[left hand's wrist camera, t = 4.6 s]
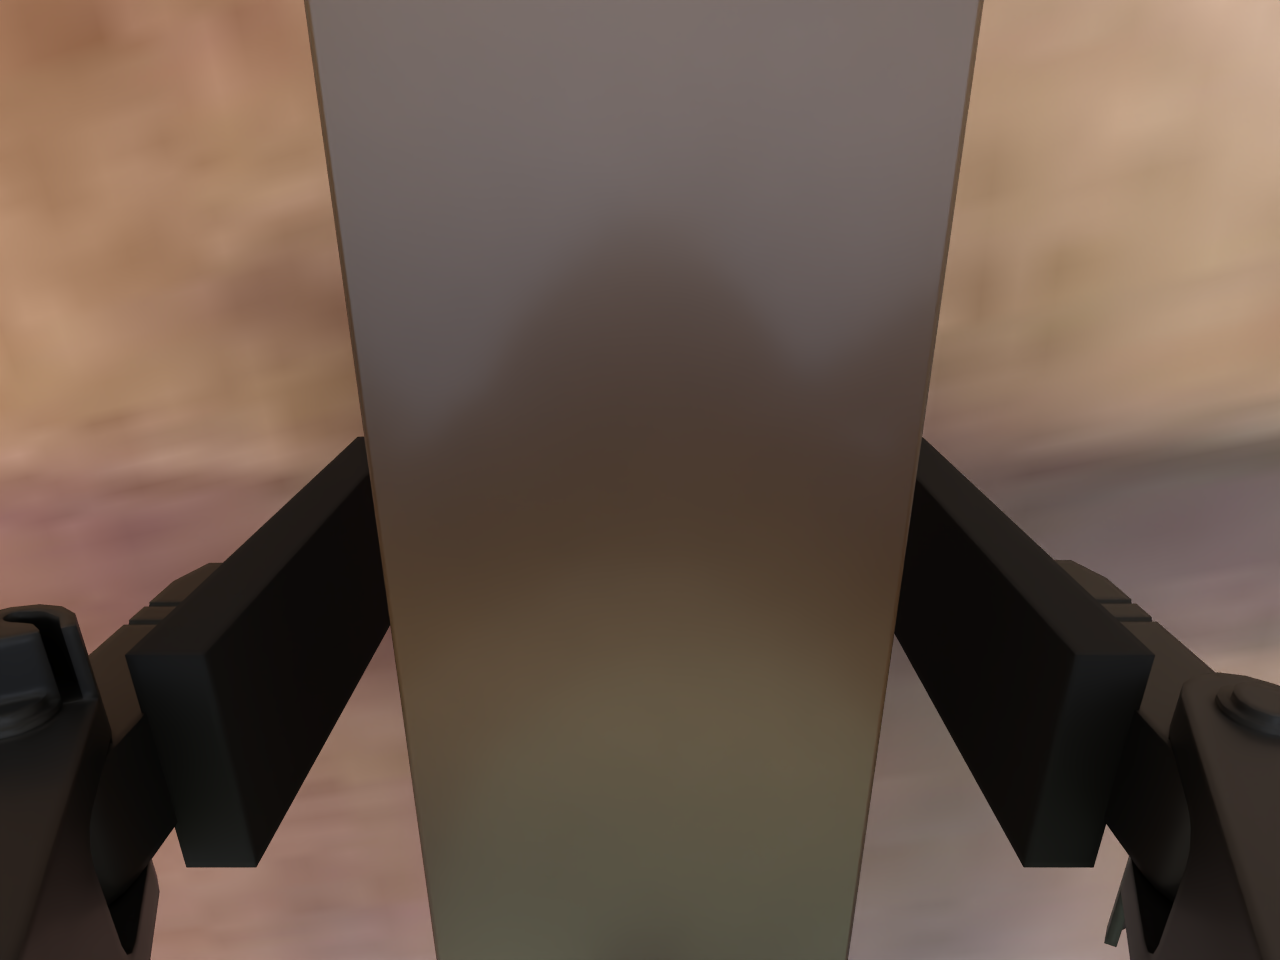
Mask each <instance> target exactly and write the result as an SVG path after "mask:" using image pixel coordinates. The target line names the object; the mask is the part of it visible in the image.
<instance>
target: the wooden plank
mask: <svg viewBox="0 0 1280 960" xmlns="http://www.w3.org/2000/svg"><path fill="white" fill-rule="evenodd" d="M983 2H984V0H304V4H305V12H306V19H307V26H308V33H309V41H310V48H311V55H312V62H313V69H314V77H315V84H316V91H317V98H318V106H319V113H320V120H321V127H322V134H323V142H324V149H325V156H326V163H327V171H328V178H329V185H330V192H331V199H332V207H333V214H334V221H335V228H336V236H337V243H338V250H339V257H340V264H341V272H342V279H343V286H344V293H345V301H346V308H347V315H348V322H349V329H350V337H351V344H352V351H353V358H354V366H355V373H356V380H357V387H358V394H359V402H360V409H361V416H362V423H363V431H364V438H365V445H366V452H367V459H368V467H369V474H370V481H371V488H372V496H373V503H374V510H375V517H376V524H377V532H378V539H379V546H380V553H381V561H382V568H383V575H384V582H385V589H386V597H387V604H388V611H389V618H390V626H391V633H392V640H393V647H394V654H395V662H396V669H397V676H398V683H399V691H400V698H401V705H402V712H403V719H404V727H405V734H406V741H407V748H408V756H409V763H410V770H411V777H412V784H413V792H414V799H415V806H416V813H417V821H418V828H419V835H420V842H421V849H422V857H423V864H424V871H425V878H426V886H427V893H428V900H429V907H430V914H431V922H432V929H433V936H434V943H435V951H436V958H437V960H848V956H849V948H850V941H851V934H852V927H853V920H854V913H855V906H856V899H857V892H858V885H859V878H860V871H861V864H862V857H863V850H864V843H865V835H866V828H867V821H868V814H869V807H870V800H871V793H872V786H873V779H874V772H875V765H876V758H877V751H878V744H879V737H880V730H881V722H882V715H883V708H884V701H885V694H886V687H887V680H888V673H889V666H890V659H891V652H892V645H893V638H894V631H895V624H896V617H897V609H898V602H899V595H900V588H901V581H902V574H903V567H904V560H905V553H906V546H907V539H908V532H909V525H910V518H911V511H912V504H913V496H914V489H915V482H916V475H917V468H918V461H919V454H920V447H921V440H922V433H923V426H924V419H925V412H926V405H927V398H928V391H929V383H930V376H931V369H932V362H933V355H934V348H935V341H936V334H937V327H938V320H939V313H940V306H941V299H942V292H943V285H944V278H945V270H946V263H947V256H948V249H949V242H950V235H951V228H952V221H953V214H954V207H955V200H956V193H957V186H958V179H959V172H960V165H961V157H962V150H963V143H964V136H965V129H966V122H967V115H968V108H969V101H970V94H971V87H972V80H973V73H974V66H975V59H976V52H977V44H978V37H979V30H980V23H981V16H982V9H983Z"/></svg>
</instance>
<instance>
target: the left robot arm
mask: <svg viewBox="0 0 1280 960" xmlns="http://www.w3.org/2000/svg"><path fill="white" fill-rule="evenodd" d="M149 603H150V605H149V607H144V608H142V609H141V610H140V611H139V612H138V613H137V614H136V615H134V616H133V617H132V618H131V619H130V620H129V625H123V626H122V627H121V628H120V629H119V630H117V631H116V632H115V633H114V634H113V635H112V636H111V637H109V638H108V639H107V640H106V641H105V642H104V643H103V644H101V645H100V646H99V647H98V648H97V649H96V650H95V651H93V652H92V653H91V654H90V655H89V656H88V653H87V650H86V647H85V644H84V640H83V637H82V634H81V631H80V627H79V624H78V621H77V618H76V615H75V613H73V612H71V611H70V610H68V609H66V608H64V607H62V606H52V605H42V604H38V605H29V606H19V607H10V608H6V609H2V610H0V960H150V957H151V950H152V942H153V935H154V928H155V921H156V913H157V906H158V899H159V892H160V891H159V885H158V879H157V875H156V871H155V868H154V865H153V862H152V858H153V856H154V855H155V853H156V852H157V851H158V849H159V848H160V846H161V845H162V844H163V842H164V841H165V839H166V838H167V837H168V835H169V834H170V832H171V831H172V830H173V828H174V827H175V830H176V833H177V836H178V840H179V843H180V847H181V850H182V854H183V857H184V861H185V864H186V867H257V865H258V863H259V861H260V860H261V858H262V856H263V854H264V852H265V851H266V849H267V847H268V845H269V843H270V842H271V840H272V838H273V836H274V834H275V833H276V831H277V829H278V827H279V825H280V823H281V822H282V820H283V818H284V816H285V814H286V813H287V811H288V809H289V807H290V805H291V804H292V802H293V800H294V798H295V796H296V794H297V793H298V791H299V789H300V787H301V785H302V784H303V782H304V780H305V778H306V776H307V775H308V773H309V771H310V769H311V767H312V766H313V764H314V762H315V760H316V758H317V756H318V755H319V753H320V751H321V749H322V747H323V746H324V744H325V742H326V740H327V738H328V737H329V735H330V733H331V731H332V729H333V728H334V726H335V724H336V722H337V720H338V718H339V717H340V715H341V713H342V711H343V709H344V708H345V706H346V704H347V702H348V700H349V699H350V697H351V695H352V693H353V691H354V690H355V688H356V686H357V684H358V682H359V680H360V679H361V677H362V675H363V673H364V671H365V670H366V668H367V666H368V664H369V662H370V661H371V659H372V657H373V655H374V653H375V652H376V650H377V648H378V646H379V644H380V642H381V641H382V639H383V637H384V635H385V633H386V632H387V630H388V628H389V626H390V618H389V611H388V604H387V597H386V589H385V582H384V575H383V568H382V561H381V553H380V546H379V539H378V532H377V524H376V517H375V510H374V503H373V496H372V488H371V481H370V474H369V467H368V459H367V452H366V445H365V438H364V437H357V438H356V439H355V440H354V441H353V442H352V443H351V444H350V445H349V446H347V447H346V448H345V449H344V450H343V451H342V452H341V453H340V454H339V455H338V456H337V457H336V458H335V459H334V460H333V461H331V462H330V463H329V464H328V465H327V466H326V467H325V468H324V469H323V470H322V471H321V472H320V473H319V474H318V475H316V476H315V477H314V478H313V479H312V480H311V481H310V482H309V483H308V484H307V485H306V486H305V487H304V488H303V489H302V490H300V491H299V492H298V493H297V494H296V495H295V496H294V497H293V498H292V499H291V500H290V501H289V502H288V503H287V504H286V505H284V506H283V507H282V508H281V509H280V510H279V511H278V512H277V513H276V514H275V515H274V516H273V517H272V518H271V519H269V520H268V521H267V522H266V523H265V524H264V525H263V526H262V527H261V528H260V529H259V530H258V531H257V532H256V533H255V534H253V535H252V536H251V537H250V538H249V539H248V540H247V541H246V542H245V543H244V544H243V545H242V546H241V547H240V548H238V549H237V550H236V551H235V552H234V553H233V554H232V555H231V556H230V557H229V558H228V559H227V560H226V561H225V562H224V563H208V564H206V565H204V566H202V567H200V568H198V569H197V570H195V571H193V572H191V573H189V574H187V575H185V576H183V577H181V578H179V579H177V580H175V581H173V582H172V583H171V584H170V585H169V586H168V587H166V588H165V589H164V590H163V591H162V592H161V593H160V594H158V595H157V596H156V597H155V598H154V599H153V600H152V601H150V602H149ZM894 633H895V635H896V637H897V639H898V641H899V642H900V644H901V646H902V648H903V650H904V652H905V653H906V655H907V657H908V659H909V661H910V662H911V664H912V666H913V668H914V670H915V671H916V673H917V675H918V677H919V679H920V680H921V682H922V684H923V686H924V688H925V690H926V691H927V693H928V695H929V697H930V699H931V700H932V702H933V704H934V706H935V708H936V709H937V711H938V713H939V715H940V717H941V718H942V720H943V722H944V724H945V726H946V728H947V729H948V731H949V733H950V735H951V737H952V738H953V740H954V742H955V744H956V746H957V747H958V749H959V751H960V753H961V755H962V756H963V758H964V760H965V762H966V764H967V766H968V767H969V769H970V771H971V773H972V775H973V776H974V778H975V780H976V782H977V784H978V785H979V787H980V789H981V791H982V793H983V794H984V796H985V798H986V800H987V802H988V804H989V805H990V807H991V809H992V811H993V813H994V814H995V816H996V818H997V820H998V822H999V823H1000V825H1001V827H1002V829H1003V831H1004V832H1005V834H1006V836H1007V838H1008V840H1009V842H1010V843H1011V845H1012V847H1013V849H1014V851H1015V852H1016V854H1017V856H1018V858H1019V860H1020V861H1021V863H1022V865H1023V867H1094V864H1095V861H1096V857H1097V854H1098V850H1099V847H1100V843H1101V840H1102V837H1103V833H1104V830H1105V826H1106V824H1107V825H1108V827H1109V828H1110V830H1111V831H1112V832H1113V834H1114V835H1115V837H1116V838H1117V839H1118V841H1119V842H1120V844H1121V845H1122V846H1123V848H1124V849H1125V851H1126V852H1127V853H1128V855H1129V859H1128V862H1127V865H1126V868H1125V871H1124V875H1123V878H1122V881H1121V884H1120V887H1119V891H1118V894H1117V897H1116V900H1115V903H1114V907H1113V910H1112V913H1111V916H1110V920H1109V923H1108V926H1107V931H1106V937H1105V942H1104V943H1106V944H1109V945H1112V946H1114V947H1117V944H1118V940H1119V937H1120V934H1121V931H1122V930H1123V929H1125V928H1126V933H1127V940H1128V947H1129V954H1130V960H1280V686H1279V685H1276V684H1272V683H1269V682H1265V681H1262V680H1258V679H1255V678H1251V677H1248V676H1242V675H1234V674H1226V673H1215V672H1214V671H1213V670H1212V669H1211V668H1210V667H1208V666H1207V665H1206V664H1205V663H1204V662H1203V661H1201V660H1200V659H1199V658H1198V657H1197V656H1196V655H1195V654H1193V653H1192V652H1191V651H1190V650H1189V649H1188V648H1187V647H1185V646H1184V645H1183V644H1182V643H1181V642H1180V641H1178V640H1177V639H1176V638H1175V637H1174V636H1173V635H1172V634H1170V633H1169V632H1168V631H1167V630H1166V629H1165V628H1163V627H1162V626H1161V625H1160V624H1159V623H1158V622H1152V617H1151V616H1150V615H1149V614H1147V613H1146V612H1145V611H1144V610H1143V609H1142V608H1140V607H1139V606H1138V605H1137V604H1132V603H1131V599H1130V598H1129V597H1128V596H1127V595H1125V594H1124V593H1123V592H1122V591H1121V590H1120V589H1119V588H1117V587H1116V586H1115V585H1114V584H1113V583H1112V582H1111V581H1109V580H1108V579H1107V578H1105V577H1103V576H1101V575H1099V574H1097V573H1095V572H1093V571H1091V570H1089V569H1087V568H1085V567H1083V566H1082V565H1080V564H1078V563H1076V562H1074V561H1072V560H1053V559H1052V558H1051V557H1050V556H1049V555H1048V554H1047V553H1046V552H1045V551H1044V550H1043V549H1042V548H1040V547H1039V546H1038V545H1037V544H1036V543H1035V542H1034V541H1033V540H1032V539H1031V538H1030V537H1029V536H1028V535H1027V534H1026V533H1024V532H1023V531H1022V530H1021V529H1020V528H1019V527H1018V526H1017V525H1016V524H1015V523H1014V522H1013V521H1012V520H1011V519H1009V518H1008V517H1007V516H1006V515H1005V514H1004V513H1003V512H1002V511H1001V510H1000V509H999V508H998V507H997V506H996V505H995V504H993V503H992V502H991V501H990V500H989V499H988V498H987V497H986V496H985V495H984V494H983V493H982V492H981V491H980V490H978V489H977V488H976V487H975V486H974V485H973V484H972V483H971V482H970V481H969V480H968V479H967V478H966V477H965V476H964V475H962V474H961V473H960V472H959V471H958V470H957V469H956V468H955V467H954V466H953V465H952V464H951V463H950V462H949V461H947V460H946V459H945V458H944V457H943V456H942V455H941V454H940V453H939V452H938V451H937V450H936V449H935V448H934V447H933V446H931V445H930V444H929V443H928V442H927V441H926V440H925V439H924V438H923V437H922V440H921V447H920V454H919V461H918V468H917V475H916V482H915V489H914V496H913V504H912V511H911V518H910V525H909V532H908V539H907V546H906V553H905V560H904V567H903V574H902V581H901V588H900V595H899V602H898V609H897V617H896V624H895V631H894Z"/></svg>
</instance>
